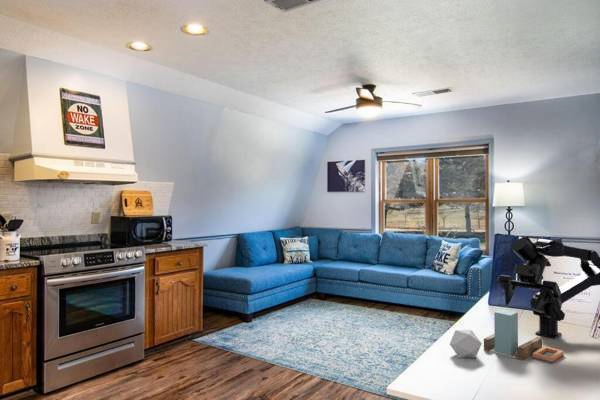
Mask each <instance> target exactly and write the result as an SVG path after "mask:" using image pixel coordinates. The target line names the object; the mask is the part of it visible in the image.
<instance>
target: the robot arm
mask: <svg viewBox="0 0 600 400" xmlns="http://www.w3.org/2000/svg"><path fill="white" fill-rule="evenodd" d="M510 249H511V250H512V251H513V252H514V254H516V256H518V258H520V259H521V260H522V261H524V262H526V263H525V264H524V263H515V266H514V272H513V273H514V274H517V276H516V277H517V279H519V280H514V279H513V277H512V275H506V274H500V275H498V277H497V282H498V284H499V286H500V287H501V289H502V290H504V298H505V305H507V306H508V305H509V304H510V302H511V300H512V299H513V296H514V294H515V290H516V287H517V288H523V289H528V290H534V291H539V292H537V293H534V294H533V296H532V297H531V299H530V301H529V302H530V308H531V311H532V313H533V315H534V316H538V319H539V320H538V327H539V329H538V330H537V331H535V335H538V336H543V337H547V338H552V339H557V338H558V337H560V336H562V332H559V324H558V323H559V322H561V321H564V320H565V317H566V313H565V312H564V311H563V310H562V306H563V304H564V303H565V302H567V301H569V300H571V299H572V298H574V297H576V296H577V295H579V294H581V293H582V292H584V291H586V290H587V289H590V287H593V286H594V287H595V286H596V287H597V286H600V256H599V254H598V252H597V251H595V250H594V249H587V248H579V247H574V246H568V245H565V244H564V243H563V242H560V241H558V240H555V239H554V240H553V239H546V238H538V239H537V240H536V241H535V242H533V241H532V240H531V239H530V237H529V236H527V235H522V236H521V238H518V239H516V240H515V241H513V242H512V243H511V246H510ZM547 257H551V258H553V257H554V258H556V257H557V258H558V257H569V258H575V259H579V260H580V268H581V271H580V275H578V276H577V277H575V278H573V279H572V280H570V281H568V282H566V283H564V284H563V285H561V286H559V285H558V283H557V281H550V280H544V272H545V270H546V269H545V268H546V267H547V268H548V267H551V266H552V264H551V262H550V261H549V258H547ZM590 262H591V263H592V264H591V263H590ZM542 280H543V281H542ZM541 281H542V284H541Z"/></svg>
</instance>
